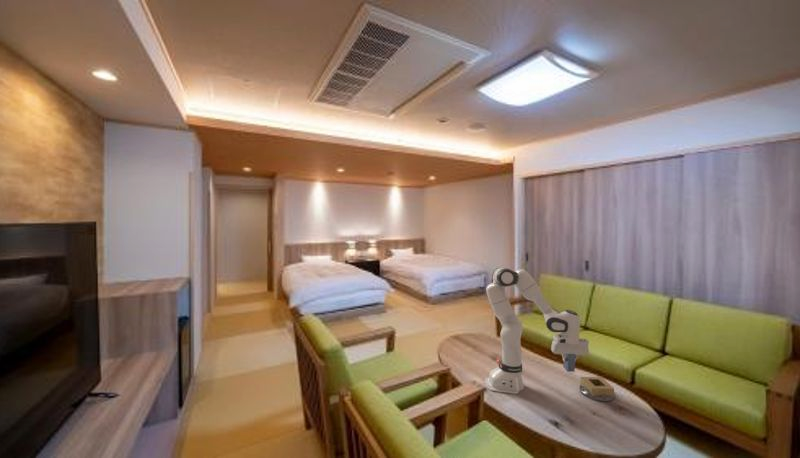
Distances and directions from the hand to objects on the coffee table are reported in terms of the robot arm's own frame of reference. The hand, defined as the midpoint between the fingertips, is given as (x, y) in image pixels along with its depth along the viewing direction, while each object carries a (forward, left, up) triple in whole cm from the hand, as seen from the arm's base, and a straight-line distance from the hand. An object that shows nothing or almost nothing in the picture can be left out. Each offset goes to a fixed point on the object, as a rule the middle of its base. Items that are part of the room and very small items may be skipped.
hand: (569, 361), depth 183 cm
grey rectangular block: (0, 0, -5) cm, 5 cm away
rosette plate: (+13, -5, -17) cm, 22 cm away
